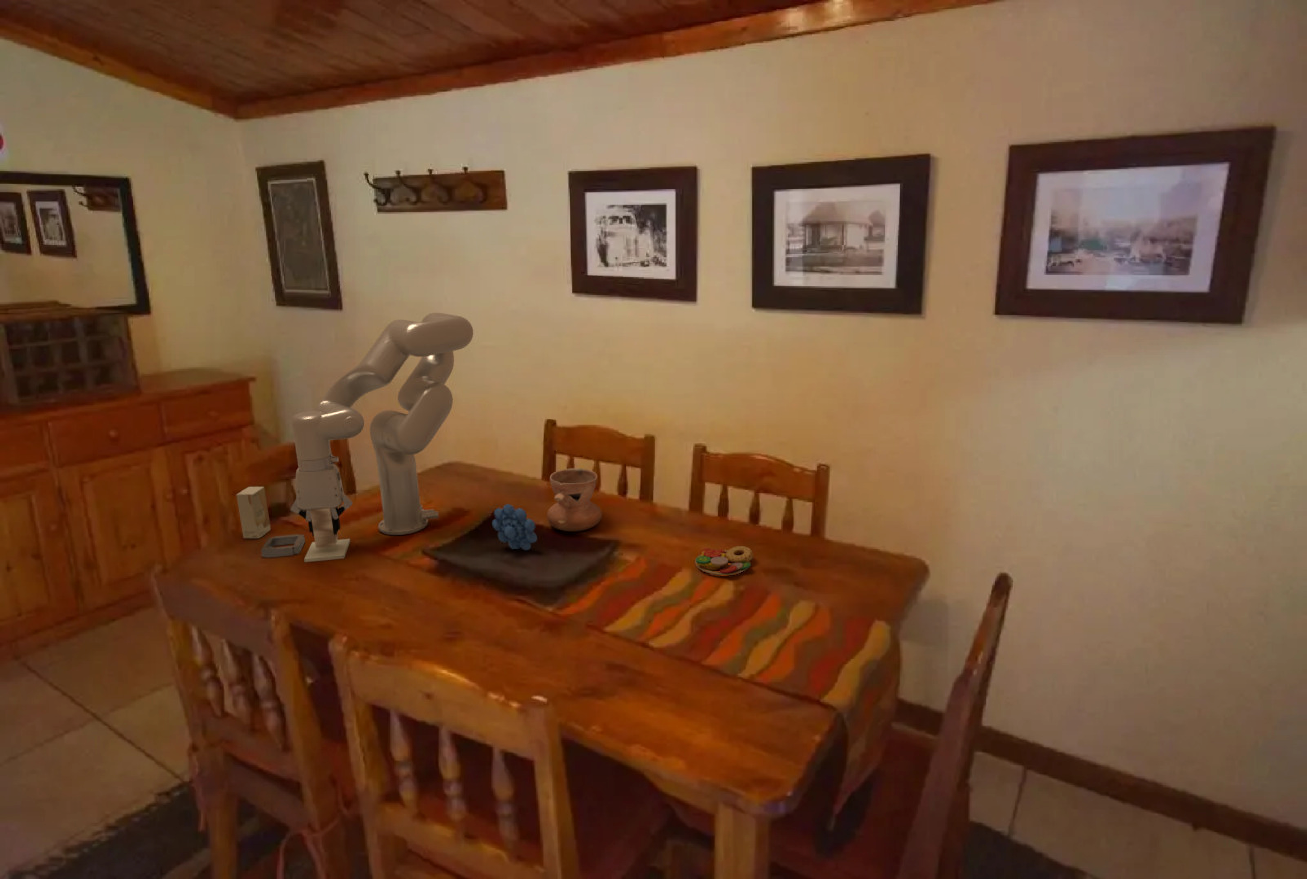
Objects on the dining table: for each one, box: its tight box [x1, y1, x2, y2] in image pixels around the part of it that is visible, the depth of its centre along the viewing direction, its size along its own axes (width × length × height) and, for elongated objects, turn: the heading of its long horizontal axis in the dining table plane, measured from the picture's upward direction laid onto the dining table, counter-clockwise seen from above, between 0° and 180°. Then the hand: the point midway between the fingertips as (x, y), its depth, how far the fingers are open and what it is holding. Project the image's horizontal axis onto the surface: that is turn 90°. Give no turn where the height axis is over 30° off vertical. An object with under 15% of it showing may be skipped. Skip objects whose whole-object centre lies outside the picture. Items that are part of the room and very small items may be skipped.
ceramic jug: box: [546, 467, 603, 532], centre depth 203 cm, size 18×14×14 cm
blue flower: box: [491, 503, 538, 551], centre depth 188 cm, size 12×7×12 cm, turn 75°
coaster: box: [303, 538, 351, 563], centre depth 190 cm, size 9×10×1 cm
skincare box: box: [235, 486, 272, 539], centre depth 199 cm, size 6×4×12 cm
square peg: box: [310, 508, 339, 548], centre depth 188 cm, size 4×4×10 cm
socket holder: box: [260, 533, 306, 559], centre depth 191 cm, size 8×8×2 cm
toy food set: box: [694, 545, 754, 576], centre depth 180 cm, size 13×13×3 cm
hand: (325, 532), depth 189 cm, fingers closed on square peg, 4 cm apart
